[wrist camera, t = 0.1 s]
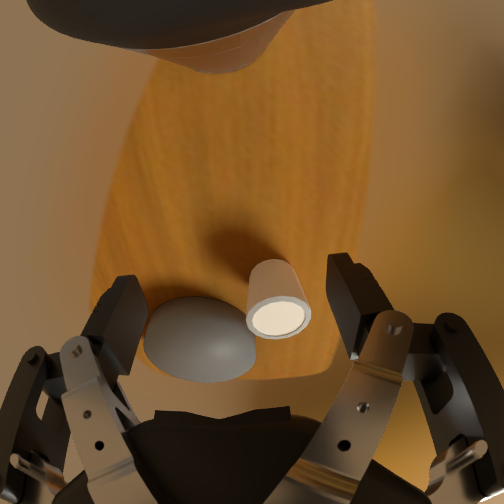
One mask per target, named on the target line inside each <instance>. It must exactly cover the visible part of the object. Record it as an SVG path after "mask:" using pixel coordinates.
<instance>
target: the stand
mask: <svg viewBox="0 0 504 504" xmlns="http://www.w3.org/2000/svg"><path fill="white" fill-rule="evenodd" d="M143 346H144V351H145V353H146V355H147V357H148V358H149V360H150V361H151V362H152V363H153V364H154V365H155V366H157V367H158V368H159V369H161V370H162V371H164V372H166V373H168V374H170V375H172V376H174V377H177V378H180V379H184V380H188V381H194V382H203V383H204V382H205V383H211V382H212V383H213V382H222V381H227V380H231V379H234V378H237V377H239V376H241V375H243V374H244V373H246V372H247V371H248V370H249V369H251V367H252V366H253V364H254V362H255V359H256V347H255V334H254V333H253V332H252V331H251V330H249V329H248V326H247V322H246V315H245V314H244V313H243V312H241V311H240V310H239V309H237V308H235V307H234V306H232V305H230V304H228V303H225V302H222V301H220V300H216V299H212V298H206V297H182V298H177V299H173V300H170V301H167V302H165V303H163V304H162V305H160V306H159V307H157V308H156V309H155V310H154V312H153V313H152V315H151V317H150V320H149V324H148V327H147V331H146V334H145V338H144V344H143Z"/></svg>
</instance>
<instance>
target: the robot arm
mask: <svg viewBox="0 0 504 504" xmlns="http://www.w3.org/2000/svg"><path fill="white" fill-rule="evenodd" d="M329 1H332V0H27V3H28V5H29V7H30V9H31V10H32V12H33V13H34V15H35V16H36V17H37V18H38V19H39V20H40V21H42V22H43V23H44V24H46V25H47V26H49V27H50V28H52V29H54V30H56V31H58V32H60V33H62V34H65V35H68V36H71V37H73V38H77V39H82V40H85V41H90V42H94V43H100V44H105V45H110V46H115V47H119V48H123V49H127V50H131V51H135V52H139V53H143V54H147V55H151V56H155V57H158V58H161V59H164V60H168V61H171V62H174V63H177V64H180V65H183V66H186V67H189V68H191V69H194V70H196V71H199V72H204V73H212V74H214V73H227V72H232V71H236V70H238V69H241V68H243V67H245V66H247V65H249V64H250V63H252V62H253V61H255V60H256V59H257V58H258V57H259V56H260V55H261V54H262V53H263V51H264V50H265V49H266V47H267V46H268V45H269V44H270V42H271V41H272V40H273V38H274V37H275V36H276V34H277V33H278V32H279V30H280V29H281V28H282V26H283V25H284V24H285V22H286V21H287V20H288V19H289V17H290V16H291V15H292V13H293V12H294V11H295V9H300V8H304V7H309V6H313V5H317V4H322V3H325V2H329ZM326 294H327V299H328V302H329V304H330V307H331V309H332V312H333V315H334V317H335V320H336V323H337V325H338V328H339V331H340V334H341V336H342V339H343V342H344V344H345V347H346V350H347V353H348V356H349V359H350V360H354V359H358V360H357V362H355V363H354V364H353V366H352V368H351V370H350V372H349V374H348V376H347V378H346V380H345V382H344V384H343V386H342V388H341V390H340V392H339V393H338V395H337V397H336V399H335V401H334V403H333V405H332V406H331V408H330V410H329V412H328V413H327V415H326V417H325V419H324V420H323V422H322V423H321V422H319V421H317V420H315V419H312V418H309V417H305V416H300V415H293V414H290V407H289V406H285V407H277V408H267V409H256V410H252V411H249V412H245V413H242V414H239V415H235V416H231V417H227V418H223V419H215V418H210V417H206V416H201V415H197V414H193V413H189V412H181V411H159V410H155V415H154V419H152V420H148V421H144V422H142V423H141V422H140V421H139V420H138V418H137V417H136V415H135V413H134V411H133V409H132V408H131V406H130V404H129V402H128V400H127V398H126V396H125V394H124V392H123V390H122V387H121V385H120V383H119V382H118V381H117V379H118V375H129V374H130V371H131V367H132V364H133V360H134V357H135V354H136V351H137V347H138V344H139V341H140V338H141V335H142V332H143V329H144V326H145V323H146V320H147V316H148V305H147V302H146V299H145V297H144V294H143V292H142V289H141V287H140V284H139V282H138V279H137V277H136V276H135V275H125V276H118V277H117V278H116V280H115V281H114V283H113V285H112V287H111V288H109V289H108V290H107V291H106V292H105V293H104V294H103V295H102V296H101V297H100V299H99V301H98V303H97V306H95V308H94V310H93V313H92V314H91V316H90V318H89V319H88V321H87V324H86V325H85V327H84V330H83V331H82V333H81V335H80V336H76V337H73V338H71V339H69V340H68V341H66V342H65V343H64V345H63V346H62V348H61V350H60V352H57V353H53V354H49V355H48V354H47V353H46V351H45V350H44V349H43V348H42V347H41V346H35V347H32V348H30V349H29V350H28V351H27V352H26V353H25V354H24V355H23V357H22V359H21V362H20V363H19V366H18V368H17V370H16V372H15V374H14V377H13V379H12V381H11V384H10V386H9V388H8V391H7V393H6V396H5V399H4V402H3V404H2V407H1V410H0V498H1V499H3V500H6V501H7V502H9V503H10V504H477V503H478V502H481V501H483V500H486V499H489V498H491V497H493V496H496V495H498V494H500V493H503V492H504V390H503V388H502V386H501V383H500V381H499V379H498V377H497V375H496V374H495V372H494V370H493V368H492V366H491V364H490V362H489V360H488V358H487V357H486V355H485V353H484V351H483V349H482V348H481V346H480V345H479V343H478V341H477V339H476V338H475V336H474V334H473V333H472V331H471V329H470V328H469V326H468V325H467V323H466V322H465V320H464V319H463V318H461V317H460V316H458V315H456V314H454V313H442V314H440V315H439V316H438V317H437V318H436V320H435V323H434V324H421V323H413V322H412V320H411V319H410V317H409V316H408V315H406V314H405V313H403V312H400V311H397V310H394V309H393V307H392V305H391V303H390V302H389V300H388V298H387V297H386V295H385V293H384V292H383V290H382V289H381V287H380V286H379V284H378V282H377V281H376V280H375V278H374V276H373V274H372V273H371V272H370V270H369V269H368V268H366V267H365V266H364V265H362V264H361V263H356V264H354V263H353V261H352V259H351V258H350V256H349V255H348V253H346V252H345V253H337V254H329V255H328V259H327V276H326ZM403 380H405V381H407V380H408V381H413V382H414V385H415V388H416V390H417V393H418V396H419V398H420V402H421V404H422V408H423V411H424V413H425V417H426V420H427V423H428V426H429V429H430V433H431V436H432V439H433V443H434V446H435V450H436V454H437V456H436V457H435V459H434V460H433V462H432V463H431V466H430V469H429V485H428V487H427V490H426V491H425V492H423V491H422V490H420V489H418V488H417V487H415V486H414V485H412V484H410V483H409V482H407V481H405V480H404V479H402V478H401V477H399V476H397V475H396V474H394V473H393V472H391V471H390V470H388V469H387V468H385V467H384V466H382V465H381V464H379V463H378V462H376V461H375V460H373V459H372V457H373V455H374V453H375V451H376V449H377V447H378V444H379V442H380V440H381V438H382V435H383V433H384V431H385V428H386V426H387V423H388V421H389V418H390V416H391V413H392V410H393V407H394V405H395V402H396V399H397V397H398V394H399V391H400V388H401V384H402V381H403ZM42 391H44V392H45V394H47V396H48V397H49V398H48V402H47V404H46V407H45V411H44V414H43V418H42V421H41V420H40V419H39V418H38V416H37V414H36V406H37V403H38V400H39V397H40V394H41V392H42ZM70 433H71V434H72V437H73V440H74V443H75V446H76V448H77V451H78V454H79V456H80V459H81V462H82V464H83V466H84V470H83V471H82V472H81V473H80V474H79V475H78V476H76V477H75V478H74V479H73V480H72V481H71V482H69V483H68V482H67V481H65V480H64V476H63V469H64V462H65V458H66V452H67V447H68V442H69V438H70Z"/></svg>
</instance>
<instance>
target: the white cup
mask: <svg viewBox="0 0 504 504" xmlns="http://www.w3.org/2000/svg"><path fill="white" fill-rule="evenodd" d="M310 319H311V309H310V307H309V304H308V302H307V299H306V297H305V294H304V292H303V290H302V287H301V285H300V282H299V280H298V278H297V275H296V273H295V271H294V269H293V268H292V266H291V265H290V264H289V263H287V262H285V261H284V260H279V259H270V260H265V261H263V262H261V263H259V264H257V265H256V266H255V267H254V268H253V269H252V271H251V274H250V277H249V288H248V300H247V313H246V322H247V326H248V329H249V330H251V331H252V332H253V333H254V334H255V335H257V336H260V337H262V338H266V339H282V338H288V337H290V336H292V335H295V334H297V333H299V332H300V331H301V330H303V329H304V328H305V327H306V326H307V325H308V323H309V321H310Z"/></svg>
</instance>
